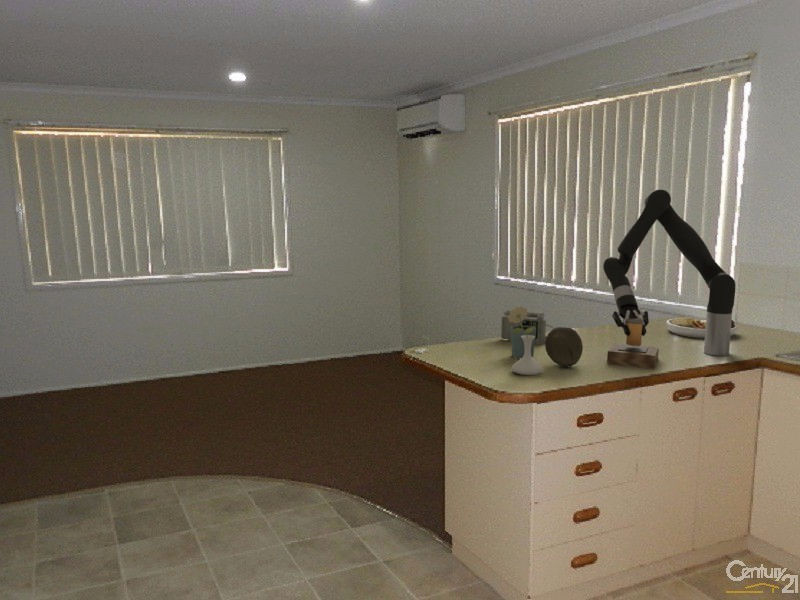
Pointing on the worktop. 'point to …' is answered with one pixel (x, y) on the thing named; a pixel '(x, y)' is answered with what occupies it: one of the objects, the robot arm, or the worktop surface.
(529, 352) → the flower in vase
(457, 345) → the worktop surface
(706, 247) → the robot arm
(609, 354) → the stand
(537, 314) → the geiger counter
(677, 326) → the bowl
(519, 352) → the drinking glass
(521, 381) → the worktop surface
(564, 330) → the coconut
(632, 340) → the amber jar
